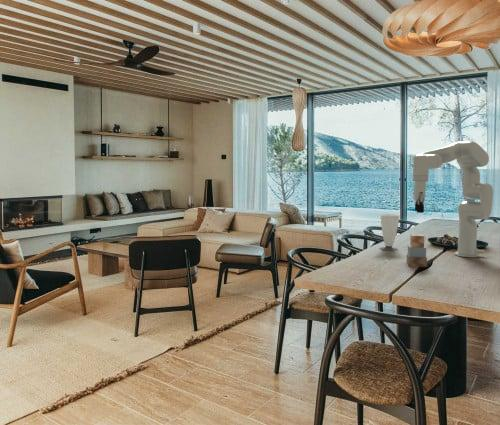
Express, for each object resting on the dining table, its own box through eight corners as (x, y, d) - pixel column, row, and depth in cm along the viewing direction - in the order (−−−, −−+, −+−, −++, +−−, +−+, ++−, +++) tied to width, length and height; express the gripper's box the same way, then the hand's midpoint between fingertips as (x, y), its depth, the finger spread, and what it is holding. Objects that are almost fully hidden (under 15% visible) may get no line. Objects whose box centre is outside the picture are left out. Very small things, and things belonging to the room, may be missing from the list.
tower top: (423, 254, 241) (423, 245, 240) (425, 257, 233) (426, 247, 232) (407, 253, 242) (408, 244, 242) (409, 256, 235) (410, 247, 234)
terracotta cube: (422, 245, 239) (422, 234, 238) (424, 247, 233) (424, 236, 233) (410, 245, 240) (410, 234, 240) (411, 247, 234) (412, 235, 234)
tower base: (424, 263, 241) (424, 254, 241) (426, 267, 232) (427, 257, 232) (406, 262, 243) (406, 253, 243) (408, 266, 234) (408, 256, 234)
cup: (375, 248, 286) (376, 214, 283) (391, 247, 289) (392, 213, 287) (386, 251, 275) (387, 216, 273) (402, 250, 278) (403, 215, 276)
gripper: (411, 178, 242) (409, 209, 244) (414, 179, 226) (413, 213, 227) (426, 178, 240) (424, 210, 242) (430, 179, 224) (429, 213, 225)
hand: (419, 211), depth 235 cm, fingers open, 9 cm apart
